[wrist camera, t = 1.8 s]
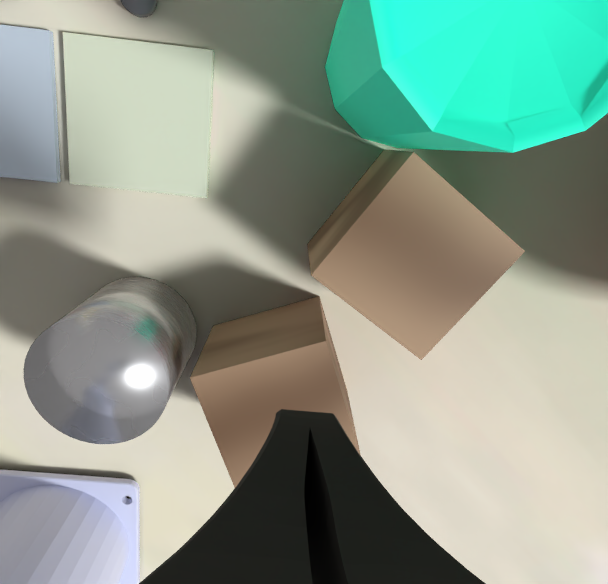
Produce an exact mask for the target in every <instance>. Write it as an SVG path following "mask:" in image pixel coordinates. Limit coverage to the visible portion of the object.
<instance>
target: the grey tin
mask: <svg viewBox="0 0 608 584" xmlns="http://www.w3.org/2000/svg"><path fill="white" fill-rule="evenodd" d="M196 336H197V331H196V323H195V319H194V316H193V313H192V311H191V309H190V307H189V306H188V304H187V303H186V301H185V300H184V299H183V298H182V297H181V296H180V295H179V294H178V293H177V292H176V291H175V290H173V289H172V288H171V287H169V286H167V285H165V284H164V283H161V282H159V281H157V280H153V279H150V278H144V277H127V278H122V279H118V280H116V281H113V282H111V283H109V284H107V285H106V286H104V287H103V288H102V289H100V290H99V291H98V292H96V293H95V294H94V295H92V296H91V297H89V298H88V299H87V300H85V301H84V302H83V303H81V304H80V305H79V306H77V307H76V308H75V309H73V310H72V311H71V312H69V313H68V314H67V315H65V316H64V317H63V318H61V319H60V320H59V321H57V322H56V323H55V324H53V325H52V326H50V327H49V328H48V329H46V330H45V331H44V332H42V333H41V334H40V335H39V336H38V337H37V338H36V340H35V341H34V342H33V344H32V345H31V347H30V349H29V351H28V353H27V356H26V359H25V364H24V382H25V387H26V390H27V393H28V396H29V398H30V400H31V402H32V404H33V405H34V407H35V409H36V410H37V411H38V412H39V414H40V415H41V416H42V417H43V418H44V419H45V420H46V421H47V422H48V423H49V424H50V425H52V426H53V427H54V428H56V429H57V430H59V431H60V432H62V433H64V434H66V435H68V436H70V437H72V438H75V439H78V440H80V441H84V442H88V443H95V444H115V443H120V442H125V441H128V440H131V439H134V438H136V437H138V436H140V435H141V434H143V433H144V432H146V431H147V430H148V429H150V428H151V427H152V426H153V425H154V424H155V423H156V421H157V420H158V419H159V417H160V416H161V414H162V412H163V410H164V408H165V406H166V404H167V402H168V400H169V398H170V396H171V394H172V392H173V390H174V388H175V386H176V384H177V382H178V380H179V378H180V376H181V374H182V372H183V370H184V368H185V366H186V364H187V362H188V360H189V358H190V356H191V354H192V352H193V349H194V347H195V343H196Z"/></svg>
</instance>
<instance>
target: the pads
mask: <svg viewBox="0 0 608 584" xmlns="http://www.w3.org/2000/svg"><path fill="white" fill-rule="evenodd" d="M121 2H122V4H123V5H124V7H125V8H126V9H127V10H128V11H130V12H131V13H132V14H133V15H135V16H137V17H148V16H150V15H151V14H152V13H153V12H154V11H155V9H156V6H157V0H121ZM63 50H64V71H65V93H66V115H67V137H68V159H69V181H70V184H75V185H84V186H94V187H103V188H113V189H123V190H132V191H142V192H151V193H161V194H171V195H180V196H190V197H199V198H208V180H209V156H210V133H211V109H212V86H213V62H214V51H213V50H209V49H200V48H192V47H184V46H175V45H167V44H159V43H150V42H142V41H134V40H125V39H117V38H109V37H100V36H92V35H84V34H75V33H67V32H63ZM0 177H7V178H17V179H26V180H36V181H46V182H55V183H58V182H61V180H60V161H59V141H58V122H57V102H56V83H55V64H54V44H53V32H51V31H49V30H42V29H34V28H25V27H17V26H9V25H0Z"/></svg>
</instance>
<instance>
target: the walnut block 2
mask: <svg viewBox="0 0 608 584" xmlns="http://www.w3.org/2000/svg"><path fill="white" fill-rule="evenodd" d="M307 247H308V255H309V263H310V271H311V276H313V277H314V278H315V279H317V280H318V281H319V282H321V283H322V284H323V285H324V286H326V287H327V288H328V289H330V290H331V291H332V292H334V293H335V294H336V295H337V296H339V297H340V298H341V299H343V300H344V301H345V302H347V303H348V304H349V305H350V306H352V307H353V308H354V309H356V310H357V311H358V312H360V313H361V314H362V315H363V316H365V317H366V318H367V319H369V320H370V321H371V322H373V323H374V324H375V325H376V326H378V327H379V328H380V329H382V330H383V331H384V332H386V333H387V334H388V335H389V336H391V337H392V338H393V339H395V340H396V341H397V342H399V343H400V344H401V345H402V346H404V347H405V348H406V349H408V350H409V351H410V352H412V353H413V354H414V355H415V356H417V357H418V358H419V359H421V360H422V359H423V358H424V357H425V356H426V355H427V353H428V352H429V351H430V350H431V349H432V348H433V347H434V346H435V345H436V344H437V343H438V342H439V341H440V340H441V339H442V338H443V337H444V336H445V335H446V334H447V333H448V331H449V330H450V329H451V328H452V327H453V326H454V325H455V324H456V323H457V322H458V321H459V320H460V319H461V318H462V317H463V316H464V315H465V314H466V313H467V312H468V311H469V310H470V308H471V307H472V306H473V305H474V304H475V303H476V302H477V301H478V300H479V299H480V298H481V297H482V296H483V295H484V294H485V293H486V292H487V291H488V290H489V289H490V288H491V286H492V285H493V284H494V283H495V282H496V281H497V280H498V279H499V278H500V277H501V276H502V275H503V274H504V273H505V272H506V271H507V270H508V269H509V268H510V267H511V266H512V265H513V263H514V262H515V261H516V260H517V259H518V258H519V257H520V256H521V255H522V254H523V253H524V252H525V251H524V250H523V249H522V248H521V247H520V246H519V245H518V244H516V243H515V242H514V241H513V240H512V239H511V238H510V237H509V236H507V235H506V234H505V233H504V232H503V231H502V230H501V229H500V228H498V227H497V226H496V225H495V224H494V223H493V222H492V221H491V220H490V219H488V218H487V217H486V216H485V215H484V214H483V213H482V212H481V211H479V210H478V209H477V208H476V207H475V206H474V205H473V204H472V203H470V202H469V201H468V200H467V199H466V198H465V197H464V196H463V195H461V194H460V193H459V192H458V191H457V190H456V189H455V188H454V187H452V186H451V185H450V184H449V183H448V182H447V181H446V180H445V179H444V178H442V177H441V176H440V175H439V174H438V173H437V172H436V171H435V170H433V169H432V168H431V167H430V166H429V165H428V164H427V163H426V162H424V161H423V160H422V159H421V158H420V157H419V156H418V155H417V154H415V153H414V152H408V151H394V150H383V152H382V153H381V154H380V155H379V157H378V158H377V159H376V160H375V162H374V163H373V164H372V165H371V166H370V168H369V169H368V170H367V171H366V173H365V174H364V175H363V176H362V178H361V179H360V180H359V181H358V182H357V184H356V185H355V186H354V187H353V189H352V190H351V191H350V192H349V194H348V195H347V196H346V197H345V198H344V200H343V201H342V202H341V203H340V205H339V206H338V207H337V208H336V210H335V211H334V212H333V213H332V214H331V216H330V217H329V218H328V219H327V221H326V222H325V223H324V224H323V226H322V227H321V228H320V229H319V230H318V232H317V233H316V234H315V235H314V237H313V238H312V239H311V240H310V242H309V243H308V244H307Z"/></svg>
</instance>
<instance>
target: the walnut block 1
mask: <svg viewBox="0 0 608 584" xmlns="http://www.w3.org/2000/svg"><path fill="white" fill-rule="evenodd" d="M190 379H191V382H192V384H193V387H194V389H195V392H196V394H197V397H198V399H199V401H200V404H201V406H202V409H203V411H204V414H205V416H206V419H207V421H208V423H209V426H210V428H211V431H212V433H213V436H214V438H215V441H216V443H217V445H218V448H219V450H220V453H221V455H222V458H223V460H224V463H225V465H226V467H227V470H228V472H229V475H230V477H231V480H232V482H233V485H234V487H235V488H236V486H237V485H238V483H239V482H240V481H241V479H242V478H243V476H244V475H245V473H246V472H247V471H248V469H249V468H250V466H251V465H252V463H253V462H254V460H255V458H256V457H257V455H258V453H259V451H260V450H261V448H262V446H263V445H264V443H265V441H266V439H267V437H268V435H269V433H270V431H271V428H272V426H273V423H274V420H275V416H276V413H277V412H278V411H279V410H281V409H286V410H298V411H310V412H323V413H333V414H334V415H335V416H336V418H337V419H338V421H339V423H340V424H341V426H342V428H343V429H344V431H345V433H346V434H347V436H348V437H349V439H350V441H351V442H352V444H353V445H354V447H355V448H356V450H357V451H358V453H359V454H360V451H359V446H358V441H357V436H356V431H355V427H354V422H353V417H352V412H351V407H350V403H349V398H348V393H347V389H346V386H345V382H344V379H343V376H342V372H341V369H340V365H339V362H338V359H337V355H336V352H335V348H334V345H333V342H332V338H331V335H330V331H329V328H328V325H327V321H326V318H325V314H324V311H323V308H322V304H321V301H320V297H319V296H318V297H314V298H311V299H307V300H303V301H300V302H296V303H293V304H289V305H286V306H282V307H278V308H275V309H271V310H268V311H264V312H261V313H257V314H253V315H250V316H246V317H243V318H239V319H236V320H232V321H228V322H225V323H221V324H218V325H214V326H213V327H212V330H211V332H210V334H209V336H208V339H207V341H206V343H205V345H204V348H203V350H202V352H201V354H200V356H199V359H198V361H197V363H196V365H195V368H194V370H193V372H192V374H191V377H190ZM360 456H361V455H360Z"/></svg>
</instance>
